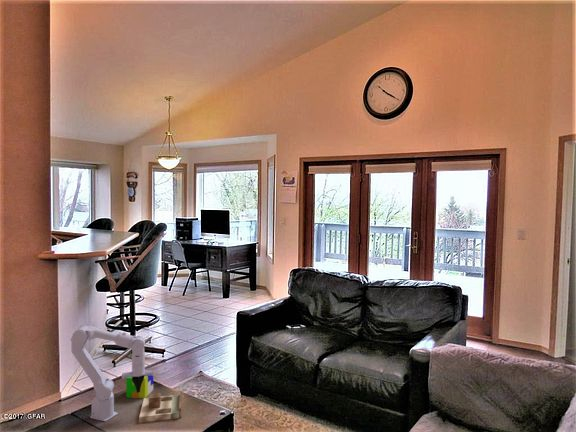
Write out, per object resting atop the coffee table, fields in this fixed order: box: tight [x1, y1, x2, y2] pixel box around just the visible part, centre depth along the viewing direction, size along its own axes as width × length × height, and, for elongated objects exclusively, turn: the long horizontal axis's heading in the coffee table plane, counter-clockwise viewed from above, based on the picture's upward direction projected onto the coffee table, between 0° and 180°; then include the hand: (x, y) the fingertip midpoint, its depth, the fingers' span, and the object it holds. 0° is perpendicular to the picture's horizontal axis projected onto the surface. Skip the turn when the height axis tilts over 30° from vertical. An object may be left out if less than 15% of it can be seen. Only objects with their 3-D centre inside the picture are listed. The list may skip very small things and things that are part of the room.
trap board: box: [138, 390, 183, 423], centre depth 194 cm, size 18×19×4 cm
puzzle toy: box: [125, 375, 154, 399], centre depth 212 cm, size 10×10×10 cm
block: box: [148, 392, 162, 409], centre depth 193 cm, size 5×5×5 cm
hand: (138, 391), depth 192 cm, fingers closed
